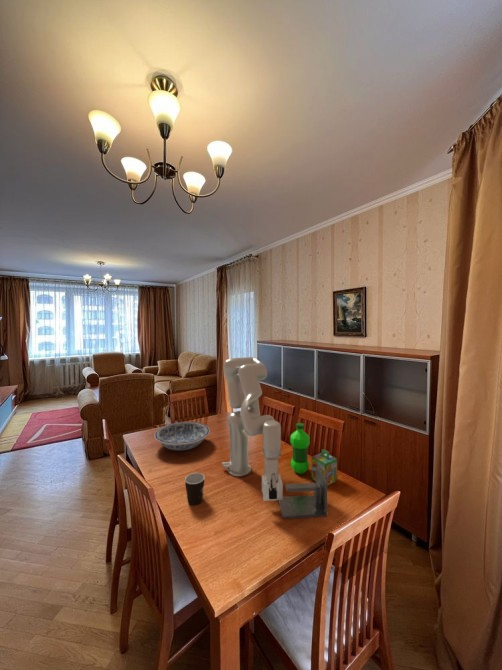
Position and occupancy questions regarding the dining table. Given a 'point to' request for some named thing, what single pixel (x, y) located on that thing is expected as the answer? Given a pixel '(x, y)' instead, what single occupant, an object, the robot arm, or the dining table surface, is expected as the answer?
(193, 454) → the dining table surface
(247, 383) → the robot arm
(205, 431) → the ceramic bowl
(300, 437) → the plastic bottle
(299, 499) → the bracket
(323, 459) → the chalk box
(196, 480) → the dark grey cup
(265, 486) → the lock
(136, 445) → the dining table surface
